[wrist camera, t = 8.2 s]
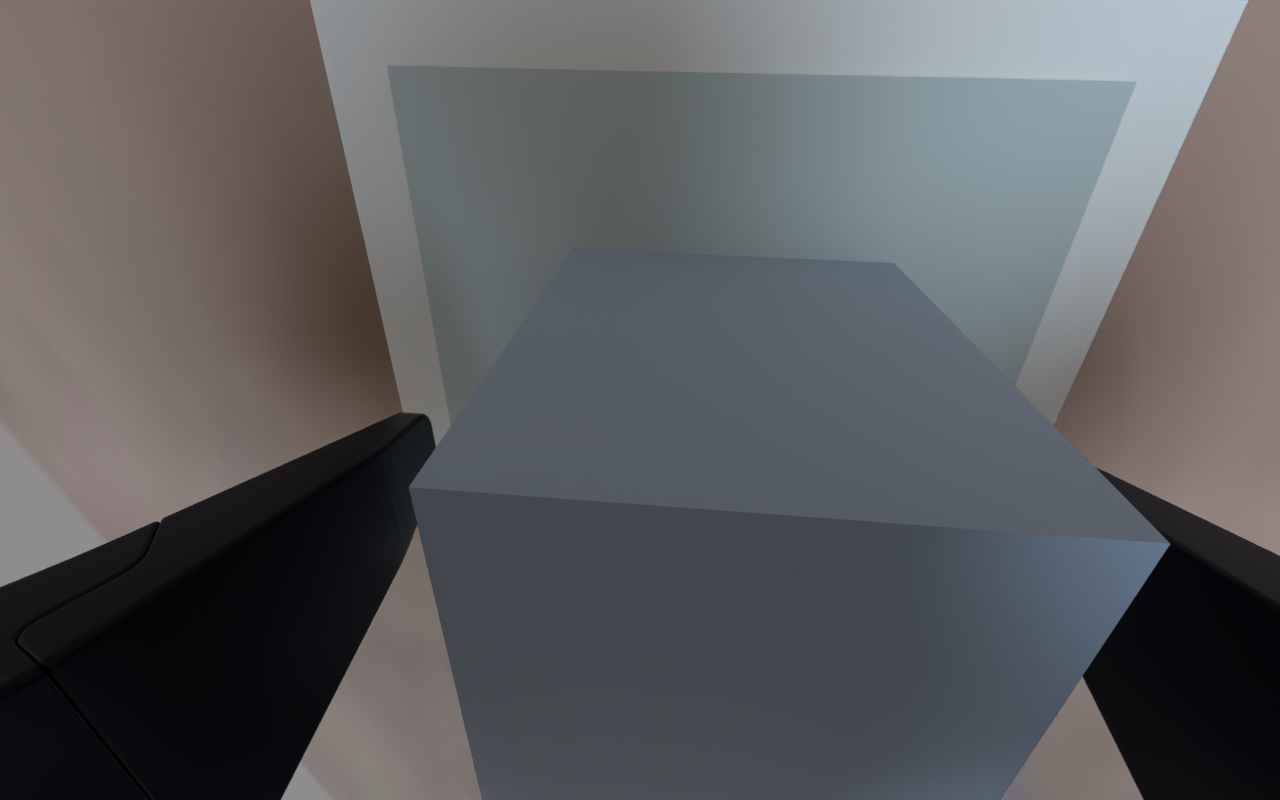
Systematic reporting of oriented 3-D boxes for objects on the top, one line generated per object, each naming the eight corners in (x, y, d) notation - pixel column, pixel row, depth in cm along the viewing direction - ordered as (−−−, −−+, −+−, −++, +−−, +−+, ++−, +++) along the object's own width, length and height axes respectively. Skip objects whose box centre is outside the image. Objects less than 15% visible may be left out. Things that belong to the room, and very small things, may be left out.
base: (920, 555, 15) (960, 642, 13) (477, 521, 16) (441, 597, 14) (1122, 6, 9) (1263, -13, 7) (390, -3, 10) (298, -23, 8)
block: (832, 511, 11) (943, 884, 6) (582, 493, 12) (490, 832, 7) (893, 263, 9) (1168, 542, 4) (572, 248, 9) (407, 486, 4)
